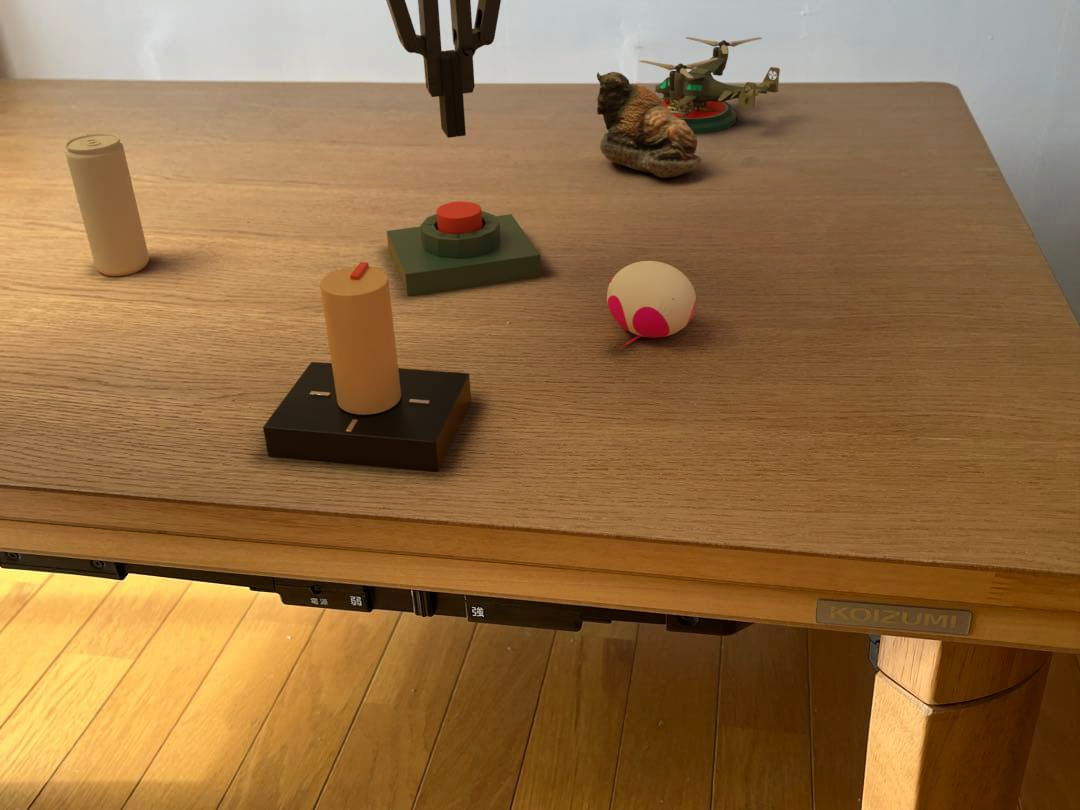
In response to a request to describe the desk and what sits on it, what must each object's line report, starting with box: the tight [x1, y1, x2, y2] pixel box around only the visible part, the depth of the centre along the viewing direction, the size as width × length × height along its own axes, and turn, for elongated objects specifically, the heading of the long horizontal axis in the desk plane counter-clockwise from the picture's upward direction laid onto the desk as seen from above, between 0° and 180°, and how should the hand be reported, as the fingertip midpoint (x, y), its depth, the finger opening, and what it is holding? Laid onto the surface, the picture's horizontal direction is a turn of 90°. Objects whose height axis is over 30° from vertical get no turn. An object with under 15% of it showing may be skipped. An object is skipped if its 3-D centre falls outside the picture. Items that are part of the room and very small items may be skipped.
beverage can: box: [64, 132, 150, 277], centre depth 100 cm, size 5×5×12 cm
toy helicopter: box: [638, 36, 781, 135], centre depth 132 cm, size 20×15×8 cm
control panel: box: [262, 361, 472, 473], centre depth 77 cm, size 12×9×3 cm
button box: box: [386, 210, 542, 297], centre depth 100 cm, size 12×10×4 cm
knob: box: [319, 261, 401, 415], centre depth 74 cm, size 4×4×9 cm
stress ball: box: [606, 260, 697, 349], centre depth 88 cm, size 8×8×7 cm
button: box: [436, 200, 483, 234], centre depth 99 cm, size 4×4×2 cm
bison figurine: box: [596, 71, 702, 179], centre depth 118 cm, size 12×7×10 cm, turn 56°
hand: (453, 131), depth 95 cm, fingers closed
